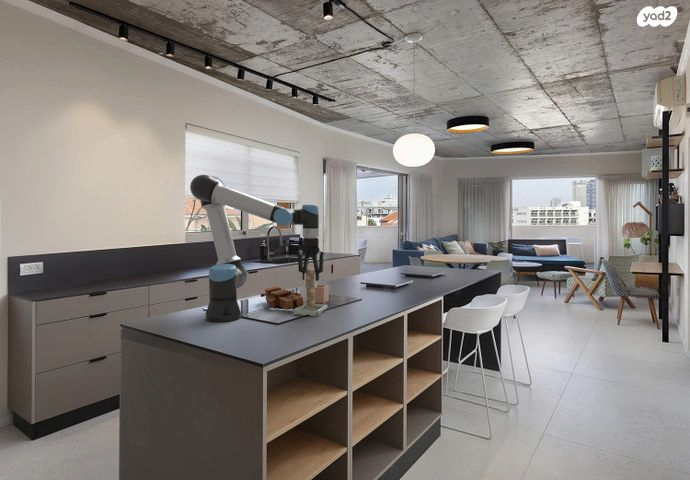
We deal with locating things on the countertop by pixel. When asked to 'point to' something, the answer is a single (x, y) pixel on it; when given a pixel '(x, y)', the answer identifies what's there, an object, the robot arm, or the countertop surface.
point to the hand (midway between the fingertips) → (310, 287)
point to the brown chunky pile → (282, 298)
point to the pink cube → (322, 293)
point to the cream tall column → (310, 288)
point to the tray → (310, 312)
